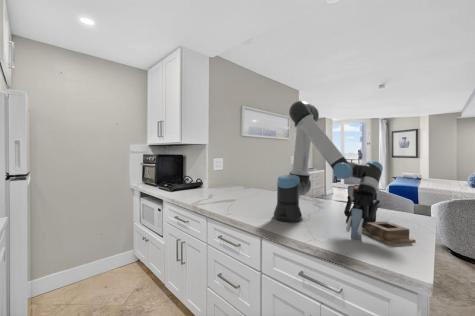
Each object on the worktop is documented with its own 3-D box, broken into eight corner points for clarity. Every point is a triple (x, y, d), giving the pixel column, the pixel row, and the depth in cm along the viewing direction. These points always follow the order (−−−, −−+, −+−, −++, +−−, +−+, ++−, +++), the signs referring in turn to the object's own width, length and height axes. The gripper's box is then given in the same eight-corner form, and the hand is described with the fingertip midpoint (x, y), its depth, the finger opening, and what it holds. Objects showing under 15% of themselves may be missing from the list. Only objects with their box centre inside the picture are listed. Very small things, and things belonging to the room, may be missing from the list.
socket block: (360, 232, 102) (361, 221, 102) (385, 230, 105) (385, 220, 105) (387, 244, 88) (388, 232, 88) (415, 241, 91) (415, 230, 91)
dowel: (348, 235, 97) (349, 208, 96) (356, 235, 98) (357, 208, 97) (355, 239, 93) (356, 211, 93) (363, 238, 94) (364, 210, 94)
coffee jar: (372, 219, 123) (373, 186, 122) (378, 225, 112) (380, 189, 112) (351, 217, 125) (352, 185, 125) (355, 222, 115) (356, 188, 115)
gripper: (389, 196, 99) (377, 242, 88) (349, 191, 112) (335, 231, 101) (387, 185, 95) (374, 232, 85) (346, 181, 108) (330, 222, 97)
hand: (353, 231), depth 93 cm, fingers closed on dowel, 4 cm apart
